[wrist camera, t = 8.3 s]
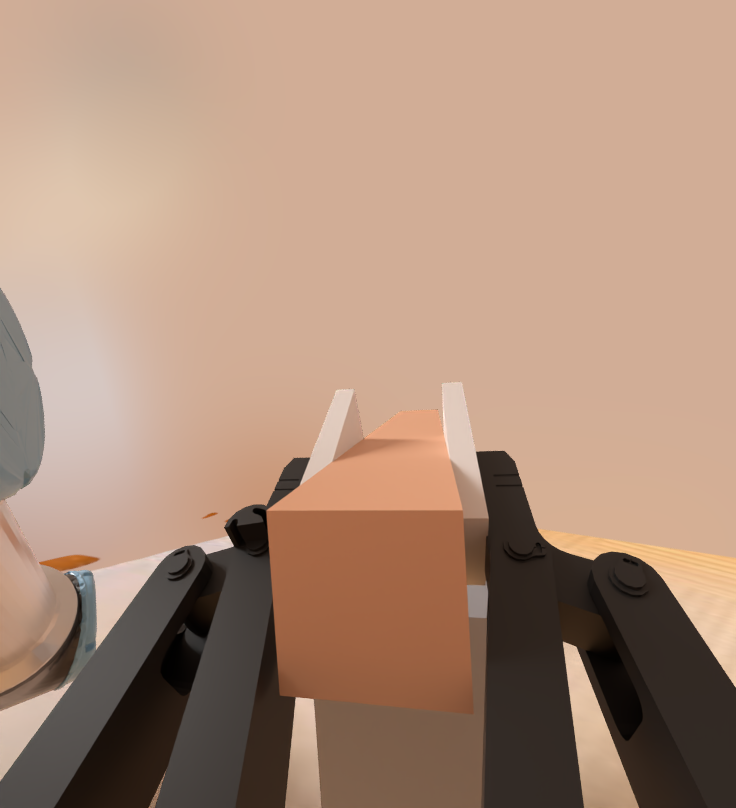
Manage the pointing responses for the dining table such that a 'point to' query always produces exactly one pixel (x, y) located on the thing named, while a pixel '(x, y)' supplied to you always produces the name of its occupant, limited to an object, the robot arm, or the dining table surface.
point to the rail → (375, 575)
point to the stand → (406, 744)
